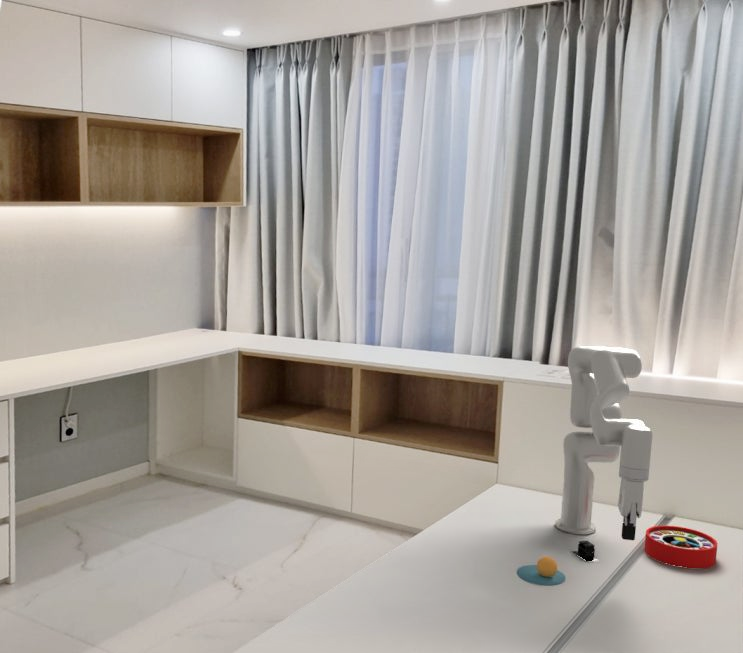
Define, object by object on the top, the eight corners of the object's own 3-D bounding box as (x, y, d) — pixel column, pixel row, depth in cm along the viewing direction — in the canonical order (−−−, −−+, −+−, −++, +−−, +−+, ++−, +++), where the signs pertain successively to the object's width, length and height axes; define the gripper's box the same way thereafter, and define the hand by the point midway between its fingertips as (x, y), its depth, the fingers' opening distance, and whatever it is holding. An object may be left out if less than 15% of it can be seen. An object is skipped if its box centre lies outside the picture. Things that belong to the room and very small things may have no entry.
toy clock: (665, 521, 248) (729, 540, 233) (664, 539, 248) (727, 559, 234) (633, 534, 234) (698, 555, 220) (631, 553, 235) (696, 575, 220)
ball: (558, 568, 216) (538, 573, 217) (552, 550, 216) (533, 555, 216) (561, 577, 211) (541, 583, 211) (555, 559, 210) (535, 564, 211)
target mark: (516, 563, 222) (517, 562, 222) (563, 568, 220) (564, 568, 220) (516, 581, 209) (516, 581, 209) (566, 588, 207) (566, 587, 207)
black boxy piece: (563, 551, 235) (564, 536, 234) (584, 549, 237) (585, 534, 237) (587, 567, 223) (589, 552, 223) (609, 565, 225) (610, 550, 225)
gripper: (615, 463, 215) (610, 527, 217) (622, 479, 201) (616, 547, 203) (644, 465, 214) (638, 530, 216) (653, 482, 199) (646, 551, 202)
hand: (627, 538), depth 209 cm, fingers closed
